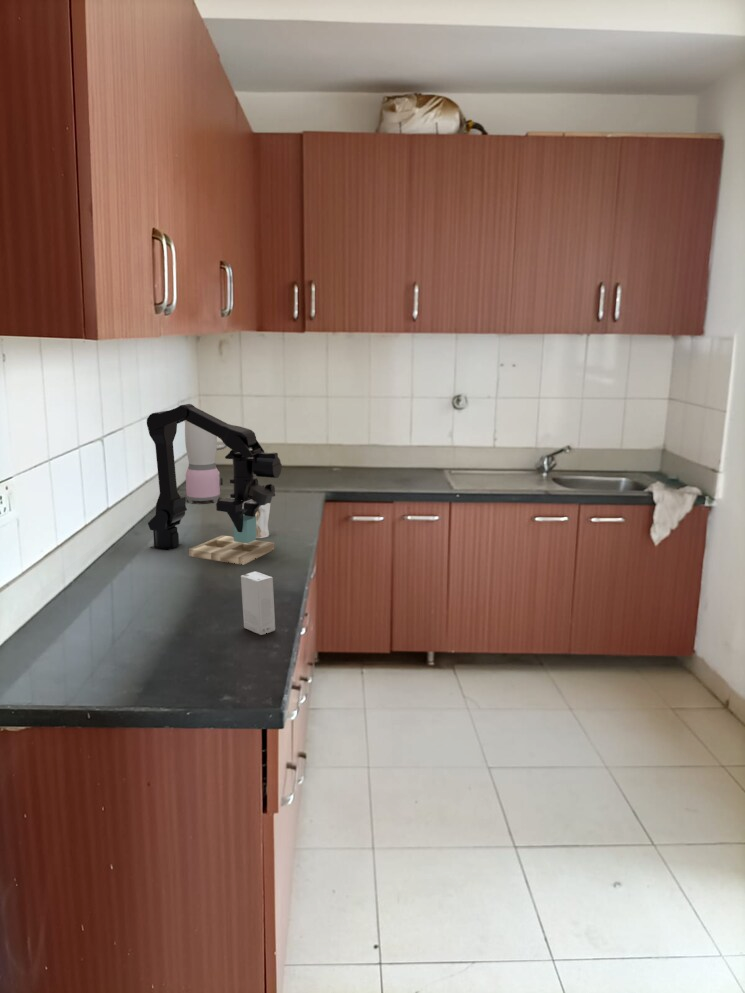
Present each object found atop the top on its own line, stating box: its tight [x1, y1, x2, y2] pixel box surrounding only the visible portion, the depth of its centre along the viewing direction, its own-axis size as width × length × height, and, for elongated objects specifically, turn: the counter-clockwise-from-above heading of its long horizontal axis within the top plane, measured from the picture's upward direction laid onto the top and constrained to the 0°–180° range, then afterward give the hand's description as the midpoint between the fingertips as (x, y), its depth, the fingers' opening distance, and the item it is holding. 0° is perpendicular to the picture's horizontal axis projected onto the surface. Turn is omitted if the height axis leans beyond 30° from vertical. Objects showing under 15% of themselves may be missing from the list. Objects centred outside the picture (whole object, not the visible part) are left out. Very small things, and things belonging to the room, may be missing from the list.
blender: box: [183, 420, 228, 504], centre depth 276 cm, size 16×12×32 cm
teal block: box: [232, 515, 257, 543], centre depth 210 cm, size 4×4×6 cm
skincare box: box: [240, 570, 276, 636], centre depth 160 cm, size 6×4×12 cm
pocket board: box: [188, 534, 275, 566], centre depth 213 cm, size 18×16×2 cm
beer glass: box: [255, 503, 271, 539], centre depth 230 cm, size 7×7×15 cm
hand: (244, 530), depth 210 cm, fingers closed on teal block, 4 cm apart
